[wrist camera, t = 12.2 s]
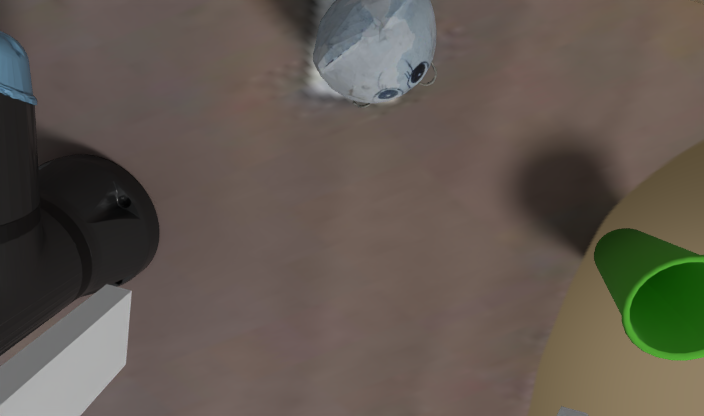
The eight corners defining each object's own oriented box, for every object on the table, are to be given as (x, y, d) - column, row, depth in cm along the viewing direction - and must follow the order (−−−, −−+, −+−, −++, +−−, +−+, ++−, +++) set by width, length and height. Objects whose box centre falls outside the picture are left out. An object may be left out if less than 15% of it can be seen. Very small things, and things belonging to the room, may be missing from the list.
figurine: (356, 116, 42) (330, 143, 28) (315, 23, 40) (265, 2, 26) (453, 72, 40) (479, 77, 26) (415, -29, 38) (421, -84, 23)
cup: (640, 189, 41) (719, 233, 31) (688, 261, 43) (778, 324, 32) (554, 242, 44) (600, 298, 33) (601, 307, 45) (659, 380, 35)
